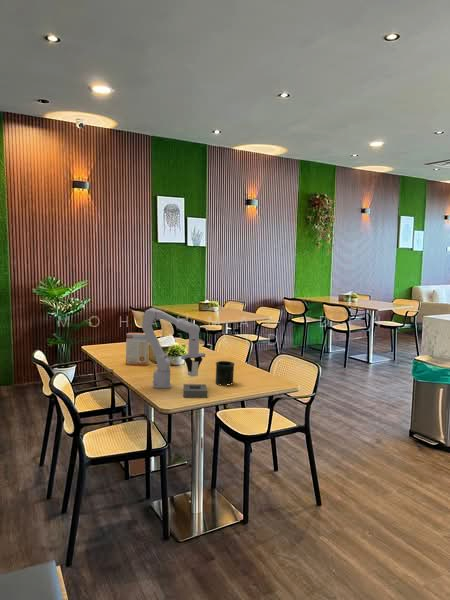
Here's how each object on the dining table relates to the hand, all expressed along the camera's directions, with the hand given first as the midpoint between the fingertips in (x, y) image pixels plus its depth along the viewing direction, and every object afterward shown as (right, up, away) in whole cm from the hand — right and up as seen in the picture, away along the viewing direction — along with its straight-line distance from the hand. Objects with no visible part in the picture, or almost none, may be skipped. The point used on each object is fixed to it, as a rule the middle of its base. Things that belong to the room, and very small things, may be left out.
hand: (192, 370), depth 249 cm
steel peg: (0, -3, 0) cm, 3 cm away
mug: (+17, -9, +13) cm, 23 cm away
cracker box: (-40, -4, +49) cm, 63 cm away
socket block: (+2, -11, -11) cm, 15 cm away
